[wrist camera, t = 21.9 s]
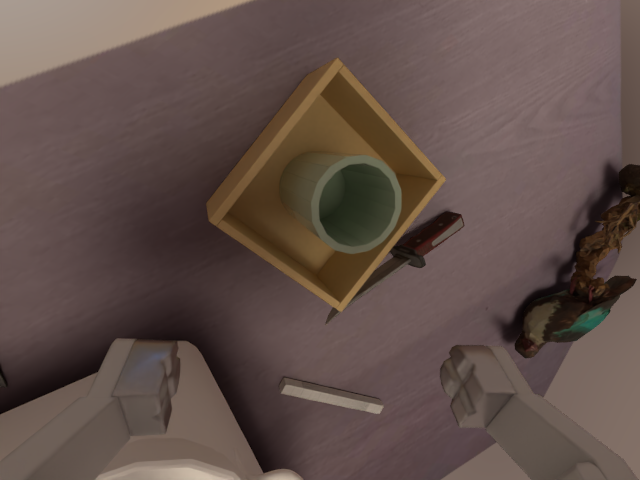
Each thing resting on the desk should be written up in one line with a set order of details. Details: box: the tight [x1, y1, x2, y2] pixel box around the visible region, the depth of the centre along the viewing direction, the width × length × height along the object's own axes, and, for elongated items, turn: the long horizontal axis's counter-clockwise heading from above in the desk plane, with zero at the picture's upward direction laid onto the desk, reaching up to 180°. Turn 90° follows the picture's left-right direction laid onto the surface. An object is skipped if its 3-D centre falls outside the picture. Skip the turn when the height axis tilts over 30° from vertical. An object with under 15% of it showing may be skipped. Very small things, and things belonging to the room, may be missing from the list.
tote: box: [206, 58, 446, 312], centre depth 28 cm, size 12×13×7 cm
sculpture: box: [515, 164, 640, 358], centre depth 41 cm, size 8×14×25 cm
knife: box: [325, 212, 464, 325], centre depth 32 cm, size 17×1×5 cm, turn 115°
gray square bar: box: [279, 377, 384, 414], centre depth 37 cm, size 12×1×1 cm, turn 63°
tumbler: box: [279, 151, 402, 254], centre depth 26 cm, size 6×6×9 cm
